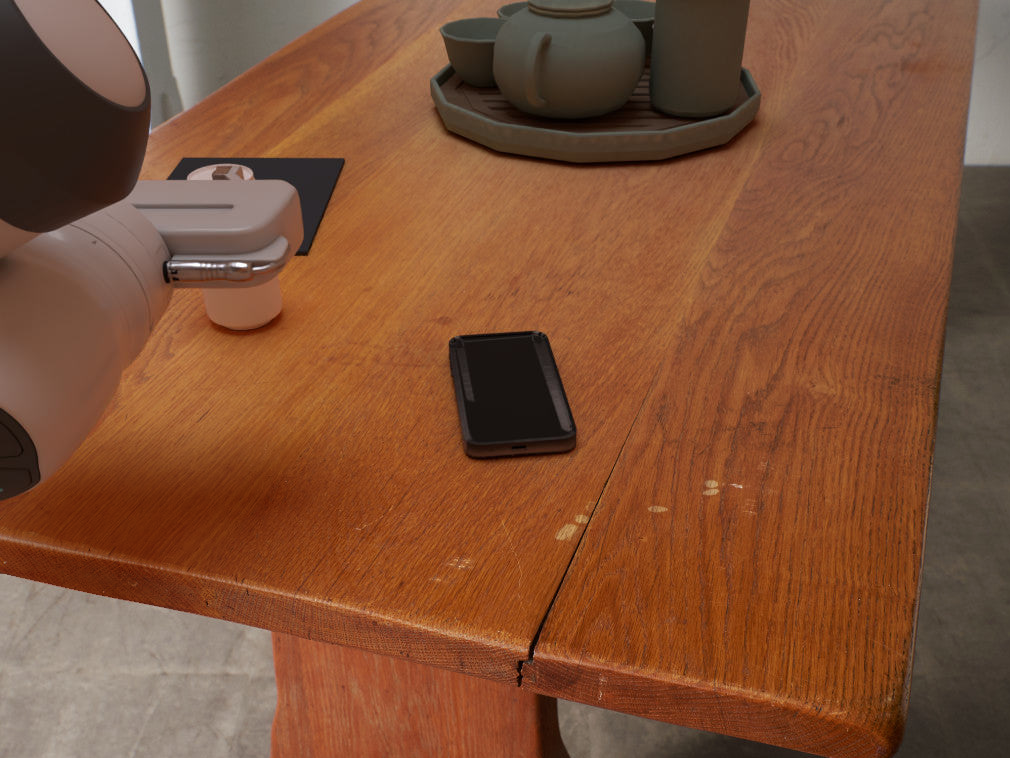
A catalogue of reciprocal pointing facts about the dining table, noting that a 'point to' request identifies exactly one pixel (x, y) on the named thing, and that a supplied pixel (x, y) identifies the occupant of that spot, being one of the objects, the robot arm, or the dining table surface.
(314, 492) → the dining table surface
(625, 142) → the tea set
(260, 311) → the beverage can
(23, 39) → the robot arm
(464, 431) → the phone
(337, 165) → the mat
